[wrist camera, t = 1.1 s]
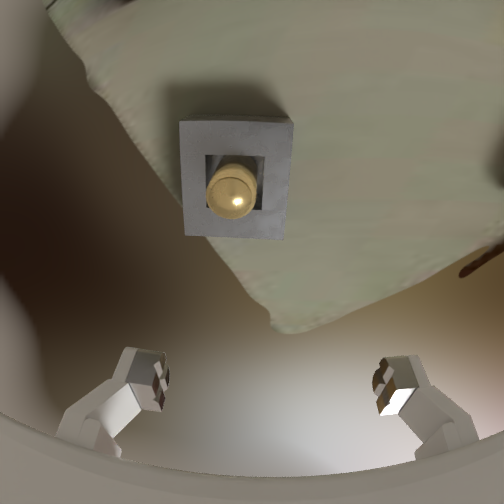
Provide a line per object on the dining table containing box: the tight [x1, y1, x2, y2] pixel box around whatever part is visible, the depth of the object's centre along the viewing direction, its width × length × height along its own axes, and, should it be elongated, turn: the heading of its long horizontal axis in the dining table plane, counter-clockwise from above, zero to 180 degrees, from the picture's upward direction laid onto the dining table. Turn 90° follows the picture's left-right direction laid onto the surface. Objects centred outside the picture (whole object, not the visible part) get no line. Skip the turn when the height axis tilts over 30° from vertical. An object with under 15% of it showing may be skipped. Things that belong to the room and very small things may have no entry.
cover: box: [206, 155, 258, 219], centre depth 33 cm, size 5×5×9 cm
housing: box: [179, 115, 294, 240], centre depth 35 cm, size 14×12×5 cm
